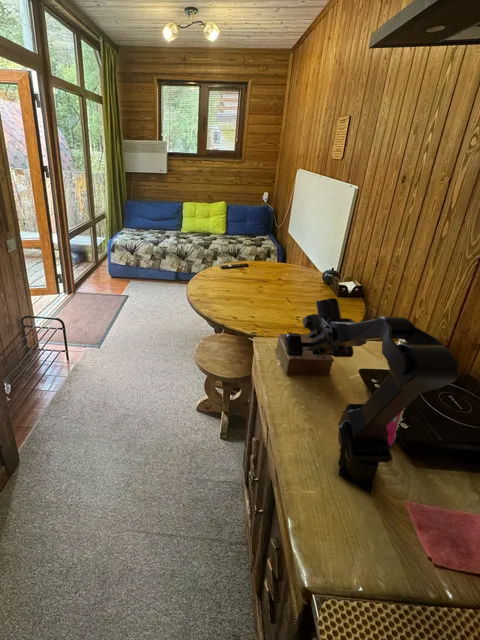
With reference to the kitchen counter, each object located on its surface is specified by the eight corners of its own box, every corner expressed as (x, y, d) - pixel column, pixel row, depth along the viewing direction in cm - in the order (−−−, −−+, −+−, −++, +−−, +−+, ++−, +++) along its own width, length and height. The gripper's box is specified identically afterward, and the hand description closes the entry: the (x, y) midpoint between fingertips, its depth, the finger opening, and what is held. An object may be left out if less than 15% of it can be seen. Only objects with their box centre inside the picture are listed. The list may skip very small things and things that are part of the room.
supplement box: (372, 419, 81) (382, 384, 78) (397, 434, 77) (409, 398, 74) (364, 432, 78) (374, 396, 74) (390, 448, 74) (402, 411, 70)
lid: (333, 362, 94) (336, 350, 93) (289, 361, 94) (291, 349, 93) (317, 336, 107) (319, 325, 105) (278, 335, 107) (279, 324, 105)
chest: (329, 375, 97) (332, 360, 95) (286, 374, 97) (288, 359, 95) (314, 350, 109) (317, 336, 107) (276, 349, 109) (278, 335, 107)
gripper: (356, 312, 87) (333, 324, 101) (290, 310, 87) (276, 323, 101) (365, 353, 82) (339, 360, 96) (295, 351, 82) (279, 359, 96)
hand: (308, 349), depth 97 cm, fingers open, 9 cm apart
